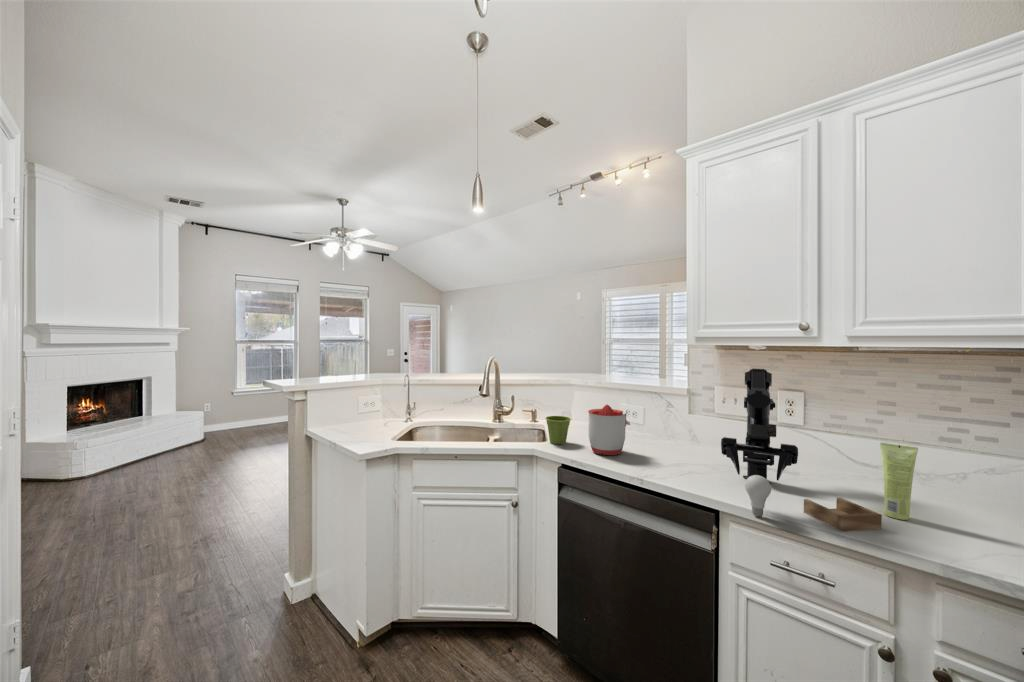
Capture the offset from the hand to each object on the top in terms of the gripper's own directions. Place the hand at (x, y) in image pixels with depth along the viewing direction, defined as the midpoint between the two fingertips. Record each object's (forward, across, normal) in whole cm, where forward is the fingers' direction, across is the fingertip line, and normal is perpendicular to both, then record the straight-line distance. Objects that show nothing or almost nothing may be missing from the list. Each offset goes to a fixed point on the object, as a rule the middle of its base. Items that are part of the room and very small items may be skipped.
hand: (757, 476), depth 114 cm
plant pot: (-22, -78, +36) cm, 89 cm away
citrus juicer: (-20, -54, +34) cm, 67 cm away
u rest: (+3, +19, +11) cm, 22 cm away
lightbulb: (+9, 0, +5) cm, 11 cm away
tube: (-5, +33, +19) cm, 38 cm away
